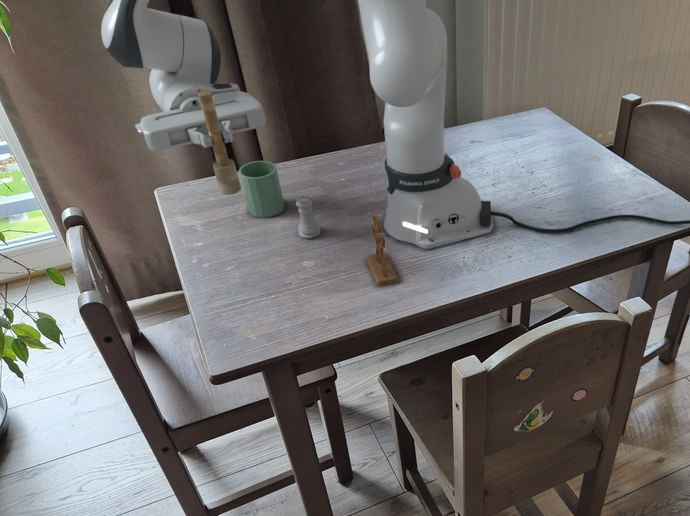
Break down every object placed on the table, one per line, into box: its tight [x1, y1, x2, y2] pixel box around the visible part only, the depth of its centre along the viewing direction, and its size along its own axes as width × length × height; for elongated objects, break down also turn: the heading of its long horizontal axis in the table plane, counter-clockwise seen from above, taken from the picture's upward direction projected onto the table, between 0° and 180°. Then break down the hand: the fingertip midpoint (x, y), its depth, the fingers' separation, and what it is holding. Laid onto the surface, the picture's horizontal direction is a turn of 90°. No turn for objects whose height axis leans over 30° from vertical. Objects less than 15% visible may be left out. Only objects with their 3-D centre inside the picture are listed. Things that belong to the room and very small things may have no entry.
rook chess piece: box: [295, 194, 322, 240], centre depth 125 cm, size 4×4×8 cm
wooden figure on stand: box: [366, 213, 399, 287], centre depth 115 cm, size 9×4×12 cm, turn 20°
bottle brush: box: [198, 91, 242, 196], centre depth 106 cm, size 4×4×17 cm
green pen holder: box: [238, 160, 286, 218], centre depth 132 cm, size 7×7×9 cm
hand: (218, 140), depth 105 cm, fingers closed on bottle brush, 2 cm apart
